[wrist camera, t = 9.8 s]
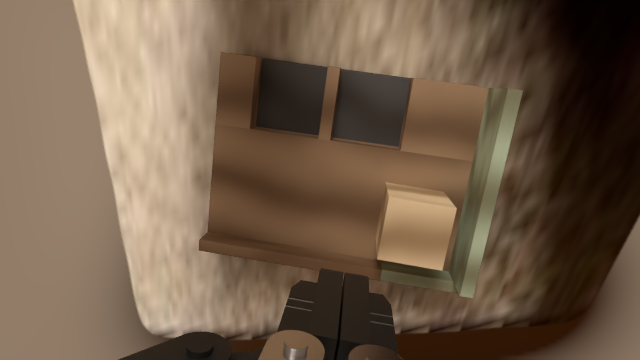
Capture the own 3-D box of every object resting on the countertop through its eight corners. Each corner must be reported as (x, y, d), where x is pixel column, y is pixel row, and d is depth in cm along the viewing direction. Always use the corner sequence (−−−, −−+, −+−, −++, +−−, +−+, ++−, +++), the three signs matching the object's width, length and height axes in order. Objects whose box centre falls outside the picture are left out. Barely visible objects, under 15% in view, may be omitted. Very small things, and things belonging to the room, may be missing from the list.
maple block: (385, 182, 36) (389, 197, 31) (443, 191, 36) (456, 208, 31) (375, 236, 37) (377, 259, 32) (431, 246, 37) (442, 270, 32)
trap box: (230, 54, 37) (200, 47, 30) (492, 89, 36) (522, 90, 29) (216, 232, 41) (187, 262, 34) (451, 271, 40) (470, 309, 33)
